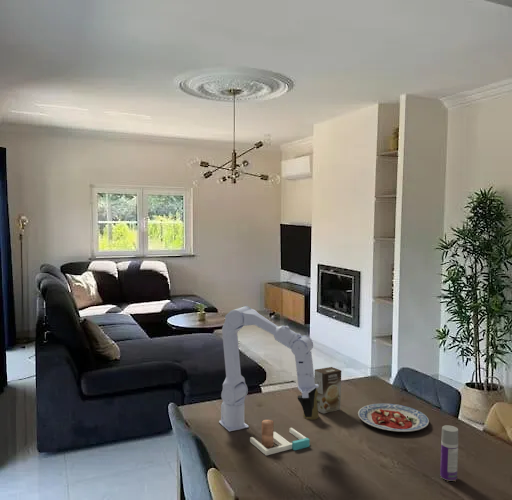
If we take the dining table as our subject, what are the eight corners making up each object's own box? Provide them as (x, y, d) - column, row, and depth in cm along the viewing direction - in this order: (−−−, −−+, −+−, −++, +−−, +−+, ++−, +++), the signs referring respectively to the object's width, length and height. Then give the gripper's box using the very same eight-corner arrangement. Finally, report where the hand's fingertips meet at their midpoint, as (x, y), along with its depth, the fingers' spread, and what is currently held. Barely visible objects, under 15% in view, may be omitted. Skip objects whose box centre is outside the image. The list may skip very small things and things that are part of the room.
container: (437, 473, 146) (438, 425, 145) (452, 473, 146) (453, 424, 145) (444, 482, 141) (446, 432, 140) (460, 481, 141) (461, 431, 141)
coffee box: (323, 414, 190) (323, 373, 189) (313, 408, 196) (313, 369, 195) (341, 409, 195) (341, 370, 194) (330, 404, 200) (331, 366, 199)
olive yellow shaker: (318, 420, 184) (318, 391, 184) (302, 418, 185) (302, 390, 185) (319, 414, 190) (319, 386, 189) (303, 412, 191) (304, 385, 191)
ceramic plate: (352, 429, 177) (352, 421, 177) (364, 404, 201) (364, 397, 201) (426, 442, 167) (427, 433, 167) (430, 414, 191) (430, 407, 191)
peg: (259, 444, 164) (259, 421, 164) (269, 441, 166) (269, 418, 166) (265, 449, 161) (265, 425, 160) (275, 446, 163) (275, 423, 162)
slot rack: (249, 441, 166) (250, 434, 166) (291, 431, 174) (291, 424, 174) (268, 457, 155) (268, 449, 155) (311, 445, 163) (312, 438, 163)
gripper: (315, 378, 157) (320, 419, 157) (318, 366, 171) (322, 404, 171) (293, 379, 158) (298, 420, 158) (298, 367, 172) (302, 405, 172)
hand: (309, 412), depth 165 cm, fingers open, 7 cm apart
